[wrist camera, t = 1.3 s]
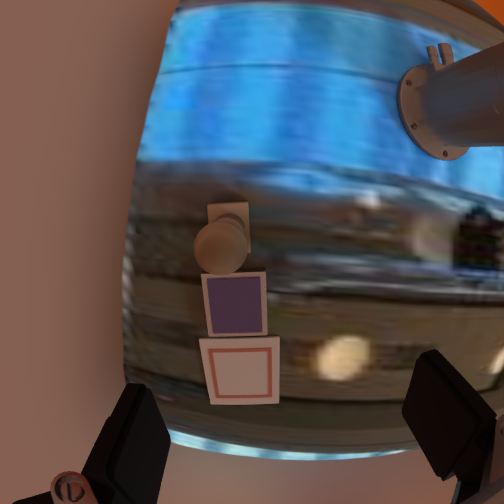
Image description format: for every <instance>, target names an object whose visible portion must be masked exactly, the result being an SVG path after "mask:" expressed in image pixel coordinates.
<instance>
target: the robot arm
mask: <svg viewBox="0 0 504 504" xmlns="http://www.w3.org/2000/svg"><path fill="white" fill-rule="evenodd" d="M426 49H427V54H428V57H429V60H430V62H429V63H428V65H419V66H416V67H414V68H412V69H410V70H409V71H407V72H406V73H405V74H404V75H403V77H402V79H401V81H400V83H399V87H398V92H397V102H398V109H399V113H400V117H401V120H402V122H403V125H404V127H405V129H406V131H407V132H408V134H409V136H410V137H411V139H412V140H413V141H414V143H415V144H416V145H417V146H418V147H419V148H420V149H421V150H422V151H423V152H425V153H426V154H428V155H429V156H431V157H433V158H435V159H439V160H455V159H458V158H460V157H462V156H463V155H464V154H465V153H466V152H467V151H468V149H469V147H492V146H504V42H502V43H500V44H498V45H495V46H493V47H490V48H488V49H485V50H483V51H480V52H478V53H475V54H473V55H470V56H468V57H466V58H463V59H461V60H459V61H456V62H454V60H453V58H454V56H453V52H452V49H451V46H450V44H448V43H440V44H438V49H439V53H440V57H441V59H442V64H441V63H439V60H438V54H437V50H436V47H434V46H428V47H426ZM411 127H412V128H411ZM402 415H403V417H404V419H405V421H406V422H407V424H408V426H409V428H410V429H411V431H412V433H413V435H414V436H415V438H416V440H417V442H418V443H419V445H420V447H421V449H422V451H423V452H424V454H425V456H426V458H427V460H428V461H429V463H430V465H431V467H432V469H433V471H434V472H435V474H436V476H438V477H441V479H442V481H445V480H447V479H449V478H451V477H453V476H454V475H456V477H457V479H458V480H457V484H456V488H455V491H454V494H453V497H452V500H451V503H450V504H504V415H502V416H501V417H499V419H498V420H496V419H495V417H496V416H497V414H496V413H495V412H494V411H493V410H492V409H491V407H490V406H489V405H488V404H487V403H486V402H485V401H484V399H483V398H482V397H481V396H480V395H479V394H478V393H477V392H476V390H475V389H474V388H473V387H472V386H471V385H470V384H469V383H468V382H467V381H466V380H465V378H464V377H463V376H462V375H461V374H460V373H459V372H458V371H457V370H456V369H455V368H454V367H453V366H452V365H451V364H450V363H449V362H448V361H447V359H446V358H445V357H444V356H443V355H442V354H441V353H440V352H439V351H438V350H436V349H433V350H430V351H427V352H423V353H421V355H420V357H419V358H418V359H417V360H416V364H415V368H414V371H413V375H412V378H411V382H410V385H409V388H408V392H407V395H406V398H405V401H404V404H403V407H402ZM170 443H171V438H170V435H169V432H168V430H167V428H166V426H165V423H164V421H163V419H162V416H161V414H160V412H159V409H158V407H157V404H156V402H155V399H154V397H153V394H152V392H151V390H150V389H149V388H146V386H145V385H144V384H136V383H128V384H127V385H126V387H125V389H124V391H123V392H122V394H121V396H120V398H119V400H118V402H117V404H116V406H115V408H114V410H113V412H112V414H111V416H110V417H108V419H107V420H106V422H105V424H104V426H103V428H102V430H101V432H100V434H99V436H98V438H97V440H96V442H95V444H94V447H93V448H92V451H91V453H90V455H89V457H88V459H87V461H86V463H85V466H84V468H83V470H82V472H81V474H79V473H77V472H73V471H67V472H63V473H60V474H58V475H57V476H56V477H55V478H54V479H53V481H52V482H51V488H50V489H51V491H49V492H45V493H43V494H39V495H36V496H33V497H29V498H26V499H21V500H18V501H16V502H14V503H12V504H157V499H158V495H159V491H160V486H161V481H162V477H163V473H164V469H165V465H166V461H167V456H168V452H169V448H170Z"/></svg>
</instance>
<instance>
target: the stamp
mask: <svg viewBox="0 0 504 504" xmlns="http://www.w3.org/2000/svg"><path fill="white" fill-rule="evenodd" d="M207 208H208V222H209V224H208V225H206V226H204V227H203V228H202V229H201V230H200V231H199V233H198V234H197V236H196V238H195V241H194V256H195V258H196V261H197V262H198V264H199V265H200V267H201V268H202V269H204V270H205V271H206V272H208V273H210V274H213V275H228V274H231V273H233V272H235V271H236V270H238V269H239V268H240V267H241V266H242V264H243V263H244V261H245V259H246V256H247V253H250V252H251V243H250V222H249V201H234V202H216V203H210V204H208V205H207Z"/></svg>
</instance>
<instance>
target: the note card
mask: <svg viewBox="0 0 504 504" xmlns="http://www.w3.org/2000/svg"><path fill="white" fill-rule="evenodd" d="M199 342H200V348H201V354H202V360H203V366H204V371H205V377H206V382H207V387H208V393H209V398H210V402H211V404H226V405H241V404H273V403H279V354H280V337H279V336H270V337H244V338H199Z"/></svg>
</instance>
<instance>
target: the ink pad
mask: <svg viewBox="0 0 504 504" xmlns="http://www.w3.org/2000/svg"><path fill="white" fill-rule="evenodd" d="M201 278H202V287H203V295H204V304H205V312H206V319H207V327H208V334H209V336H256V335H267V298H266V270H265V268H254V269H238V270H236V271H235V272H233V273H231V274H228V275H213V274H210V273H208V272H206V271H205V270H203V271H202V273H201Z"/></svg>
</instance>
